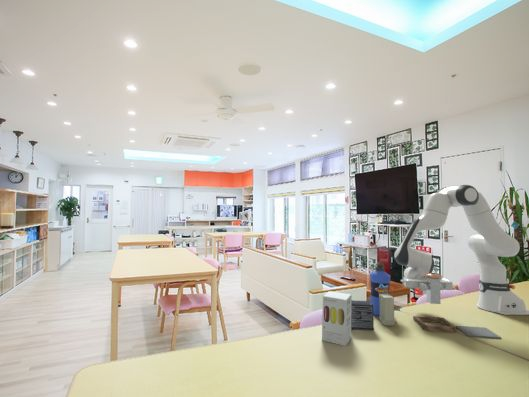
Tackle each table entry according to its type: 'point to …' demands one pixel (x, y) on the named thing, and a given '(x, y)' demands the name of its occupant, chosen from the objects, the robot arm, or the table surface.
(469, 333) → the charcoal mat
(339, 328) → the supplement box
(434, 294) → the copper-capped steel post
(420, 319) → the brown wooden square frame
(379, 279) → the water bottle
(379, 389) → the table surface
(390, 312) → the skincare box
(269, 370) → the table surface
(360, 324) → the small box
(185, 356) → the table surface
